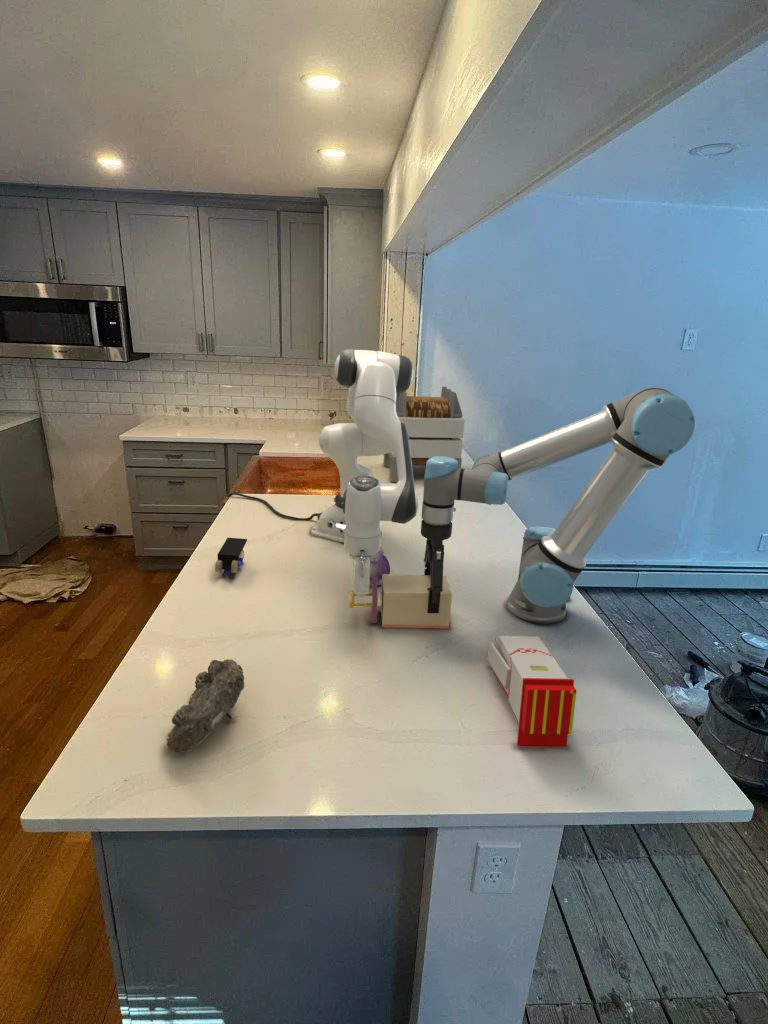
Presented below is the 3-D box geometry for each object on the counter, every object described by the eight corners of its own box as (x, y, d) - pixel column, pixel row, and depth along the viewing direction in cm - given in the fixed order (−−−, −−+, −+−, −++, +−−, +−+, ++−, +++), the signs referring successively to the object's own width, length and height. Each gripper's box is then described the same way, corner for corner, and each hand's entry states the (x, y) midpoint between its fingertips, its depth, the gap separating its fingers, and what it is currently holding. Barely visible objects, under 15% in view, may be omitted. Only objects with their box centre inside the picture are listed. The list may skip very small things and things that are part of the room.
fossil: (192, 660, 117) (244, 628, 112) (224, 691, 120) (276, 661, 115) (142, 746, 98) (202, 712, 93) (182, 779, 101) (242, 748, 96)
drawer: (348, 622, 141) (349, 594, 138) (349, 604, 149) (350, 577, 147) (433, 623, 142) (435, 595, 139) (429, 605, 150) (431, 579, 148)
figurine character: (238, 584, 162) (249, 557, 175) (236, 562, 158) (247, 536, 172) (215, 584, 161) (227, 556, 175) (212, 561, 158) (225, 535, 171)
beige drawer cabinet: (382, 627, 141) (383, 592, 138) (380, 607, 151) (382, 574, 147) (448, 628, 142) (452, 593, 139) (443, 608, 151) (446, 575, 148)
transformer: (382, 463, 289) (386, 382, 275) (445, 464, 293) (451, 384, 279) (390, 482, 257) (394, 392, 243) (460, 483, 261) (468, 394, 247)
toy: (536, 619, 129) (586, 686, 99) (531, 673, 131) (578, 754, 102) (483, 618, 128) (517, 685, 99) (479, 672, 131) (511, 753, 102)
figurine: (368, 590, 159) (370, 541, 153) (353, 575, 167) (354, 528, 162) (398, 584, 163) (401, 536, 158) (382, 570, 171) (384, 524, 166)
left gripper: (376, 560, 129) (374, 614, 133) (374, 528, 148) (372, 576, 153) (348, 560, 129) (347, 614, 133) (350, 528, 148) (349, 576, 152)
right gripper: (460, 538, 127) (451, 625, 134) (445, 505, 148) (439, 581, 156) (426, 538, 126) (420, 624, 134) (417, 504, 148) (412, 581, 155)
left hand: (360, 593), depth 143 cm, fingers closed
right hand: (430, 601), depth 145 cm, fingers closed on beige drawer cabinet, 10 cm apart
